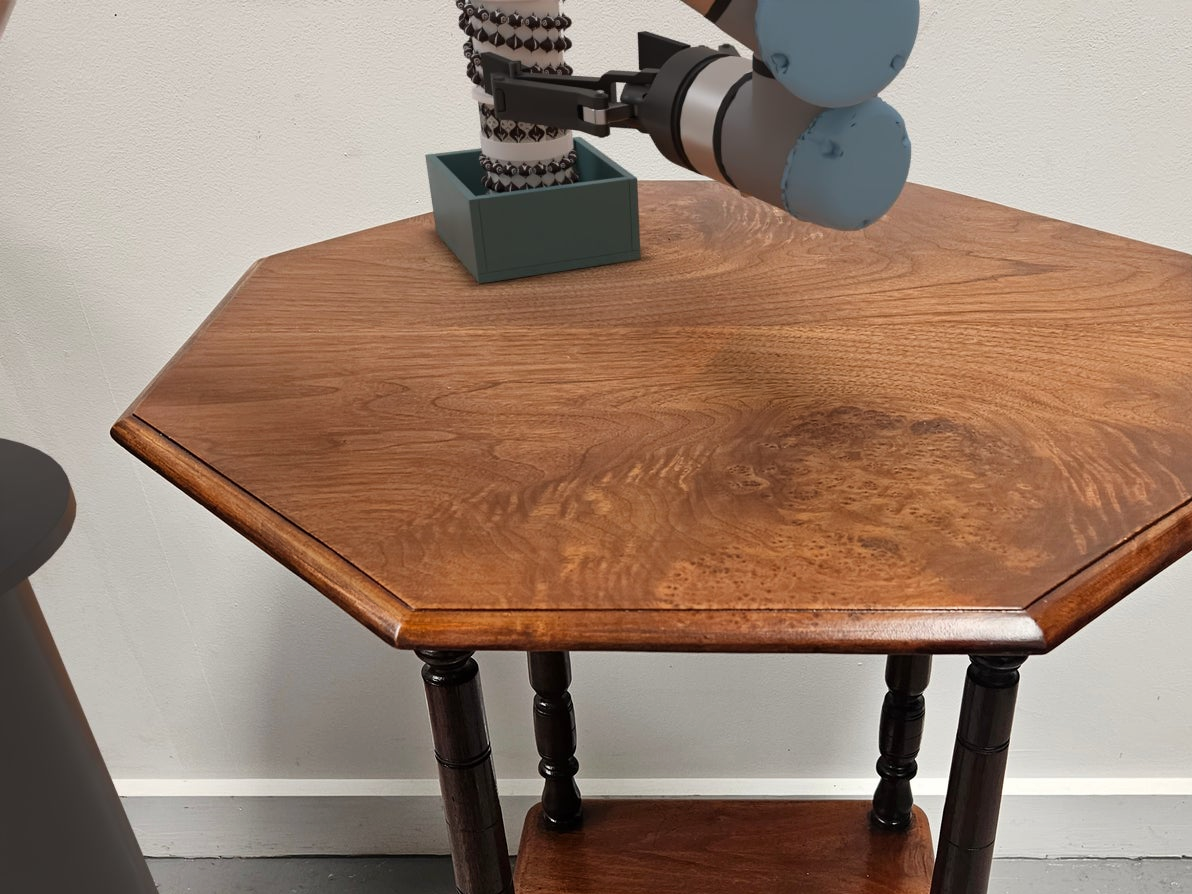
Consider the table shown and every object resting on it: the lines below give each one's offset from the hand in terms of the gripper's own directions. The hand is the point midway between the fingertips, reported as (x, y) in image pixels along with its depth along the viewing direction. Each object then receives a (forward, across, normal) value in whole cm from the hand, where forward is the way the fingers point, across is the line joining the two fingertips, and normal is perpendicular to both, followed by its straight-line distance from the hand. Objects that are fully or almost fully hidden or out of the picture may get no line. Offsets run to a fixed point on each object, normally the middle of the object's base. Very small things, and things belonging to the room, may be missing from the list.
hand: (566, 61), depth 97 cm
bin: (+9, 0, -16) cm, 19 cm away
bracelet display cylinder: (+9, 0, -16) cm, 18 cm away
